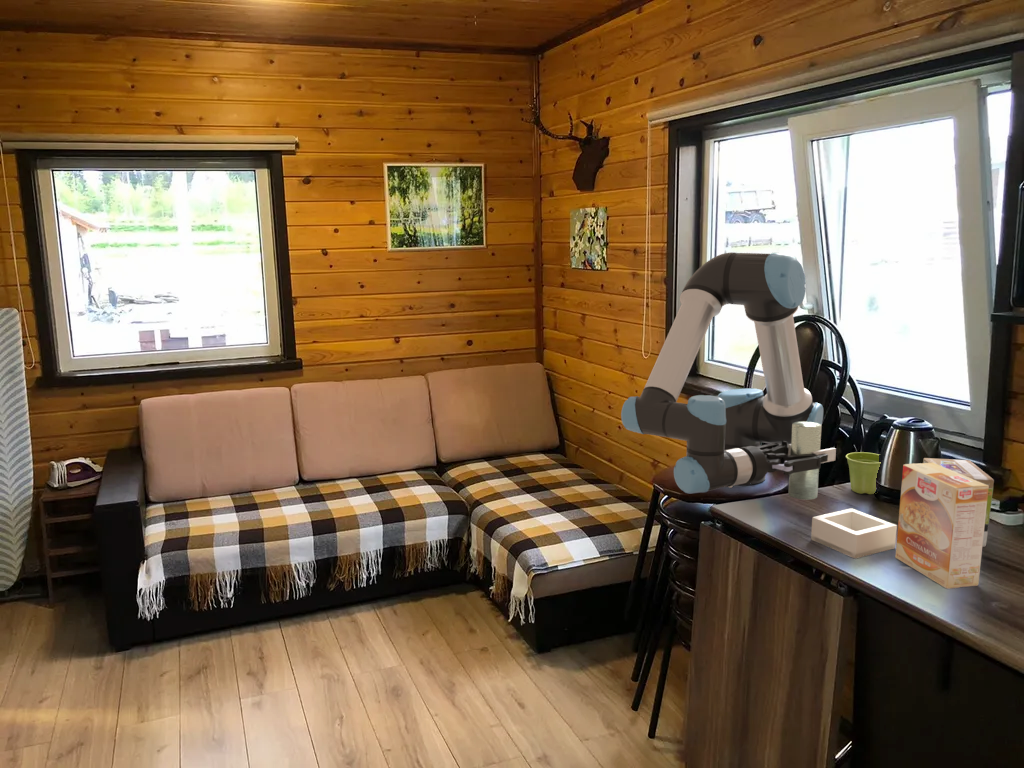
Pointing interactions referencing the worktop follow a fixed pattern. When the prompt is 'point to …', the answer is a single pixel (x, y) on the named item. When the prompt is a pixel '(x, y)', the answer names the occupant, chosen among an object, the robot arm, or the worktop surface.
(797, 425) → the canister
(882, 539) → the well
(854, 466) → the plant pot
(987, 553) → the worktop surface
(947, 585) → the coffeecake box
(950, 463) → the tea box
